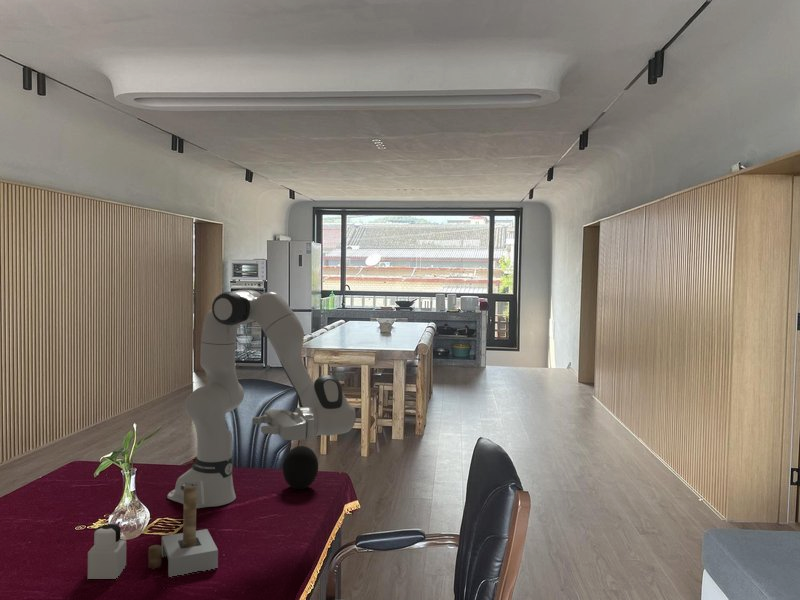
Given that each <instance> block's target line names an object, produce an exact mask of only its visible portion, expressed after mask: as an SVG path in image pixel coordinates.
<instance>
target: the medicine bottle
mask: <svg viewBox="0 0 800 600" xmlns="http://www.w3.org/2000/svg"><path fill="white" fill-rule="evenodd" d="M121 529H122V528H121V526H120V525H118V524H115V523H108V524H103V525H100V526H98V527H96V528H95V530H94V531H93V533H94V535H93V537H94V538H93V539H94V541H93V544H94V545H93V546H92V547H91V548H90V549H89V551H87V571H86V572H87V576H86V577H87V580H88V579H116V578H117V579H118V578H119V577H120V575H121V574H122V573H123V571H124V570H125V568H126V567H127V540H126V539H121ZM125 566H126V567H125ZM123 569H124V570H123ZM118 576H119V577H118ZM117 579H116V580H117Z"/></svg>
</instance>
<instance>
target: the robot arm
mask: <svg viewBox="0 0 800 600" xmlns="http://www.w3.org/2000/svg"><path fill="white" fill-rule="evenodd" d="M251 323H257V324H258V325H259V327H260V328H261V330H262V331H263V333H264V334H265V337H267V339H268V341H269V343H270V344H271V346H272V347H273V349H274V351H275V353H276V355H277V358H278V360H279V362H280V365H281V367H282V368H283V371H284V372H285V375H286V376H287V378H288V380H289V383H290V385H291V386H292V388H293V389H294V391H295V394H296V396H297V400H298V407H296V408H295V409H294V411H290V409H289V410H288V409H267V410H264V415H261V416H254V417H252V424H253V425H255V426H256V425H261V424H266V425H262V426H261V427H260V433H262V434H265V435H266V434H268V435H277V436H279V437H280V438H281V439H282V440H284V441H285V440H286V441H306V442H312V441H314V437H318V436H321V435H322V436H327V437H329V436H336V435H338V436H339V435H343V434H347V433H348V432H350V431H351V430H352V429H353V428H354V426H355V423H356V420H357V414H356V409H355V407H354V406H353V405H352V404H350V402H349V401H348V399H347V397H346V396H345V394H344V391H343V387H342V384H341V382H340V381H339V380H338V378H336V377H335V376H333V375H329V374H324V375H323V374H322V375H320V376H319V377H317V378H316V379H315V380H313V379H312V378H311V376H310V374H309V372H308V369H307V368H306V366H305V365H304V362H303V358H302V357H303V356H302V353H303V351H302V349H303V344H304V339H305V331H304V329H303V326H302V324H301V322H300V320H299V319H298V316H297V315H296V314H295V313H294V311H293V309H292V308H291V306H290V305H289V304H288V303H287V302H286V301H285V300H284V299H283V297H282V296H281V295H280V294H278V293H277V292H274V291H268V292H264V291H260V290H257V289H237V290H234V291H225V292H222V293H220V294H218V295H217V296H216V297H215V298H214V300H213V301H212V305H211V309H210V310H208V311H207V313H206V314H205V317H204V320H203V324H202V331H201V341H200V354H199V355H200V359H199V361H200V363H199V364H200V365H199V366H200V367H201V368H202V369H203V370H204V372H205V375H206V381H207V382H206V385H204V386H201V387H198V388H196V389H195V390H194V391H192V392H191V393H190V394H188V395H187V396H186V398H185V400H184V404H183V405H184V412H185V413H186V415H187V417H188V418H189V419H190V420H192V422H193V425H194V428H195V432H196V446H197V447H196V454H197V455H196V457H194V458H192V459H190V460H189V461H190V462H189V464H192V463H193V464H192V467H191V468H189V469H188V470H187V471H186V472H184V473H183V474H182V475H181V474H180V476H179V477H178V478H177V480H176V483H175V487H174V489H172V490H171V491H169V492H168V494H167V499H168V500H171V501H173V502H177V503H178V504H181V505H184V487H186V486H196V487H197V496H196V509H201V508H202V509H203V508H209V507H211V508H212V507H220V506H224V505H227V504H230V503H232V502H233V501H235V500H236V498H237V496H236V493H235V488H234V482H233V468H234V467H233V466H234V456H233V455H232V452H233V451H232V450H233V449H232V448H233V446H232V445H233V434H232V432H231V430H230V429H228V427H227V424H226V420H225V419H226V414H227V413H229V412H232V411H234V410H236V408H238V407H239V406H240V404H241V403H242V402H243V400H244V398H245V389H244V387H243V386H242V384H241V383H240V382H239V380H238V374H237V371H236V370H237V369H236V353H237V351H236V348H237V347H236V345H237V332H238V329H239V327H240V326H242V325H247V324H251Z"/></svg>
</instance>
